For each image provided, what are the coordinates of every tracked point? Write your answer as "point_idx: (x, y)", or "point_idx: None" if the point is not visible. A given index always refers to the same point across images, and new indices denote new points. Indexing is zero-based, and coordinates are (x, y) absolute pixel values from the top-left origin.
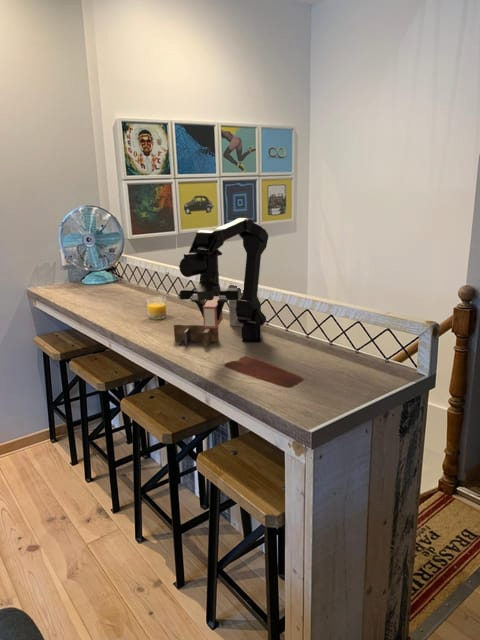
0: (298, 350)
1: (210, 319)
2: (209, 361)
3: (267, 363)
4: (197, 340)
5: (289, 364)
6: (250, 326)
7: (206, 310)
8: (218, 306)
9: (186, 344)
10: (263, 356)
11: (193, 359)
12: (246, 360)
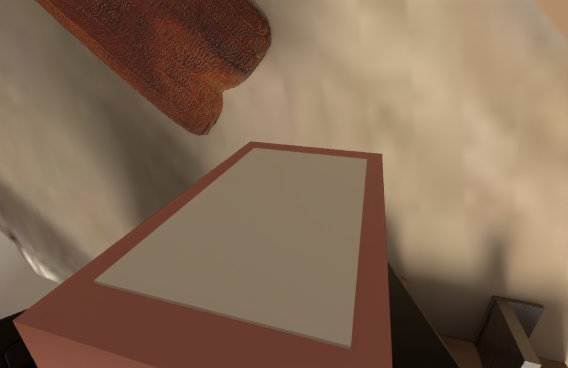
0: (65, 200)
1: (277, 185)
2: (357, 82)
3: (85, 36)
4: (441, 338)
5: (37, 65)
6: None
7: (294, 293)
8: (15, 354)
9: (500, 301)
10: (144, 149)
11: (453, 110)
12: (173, 68)
